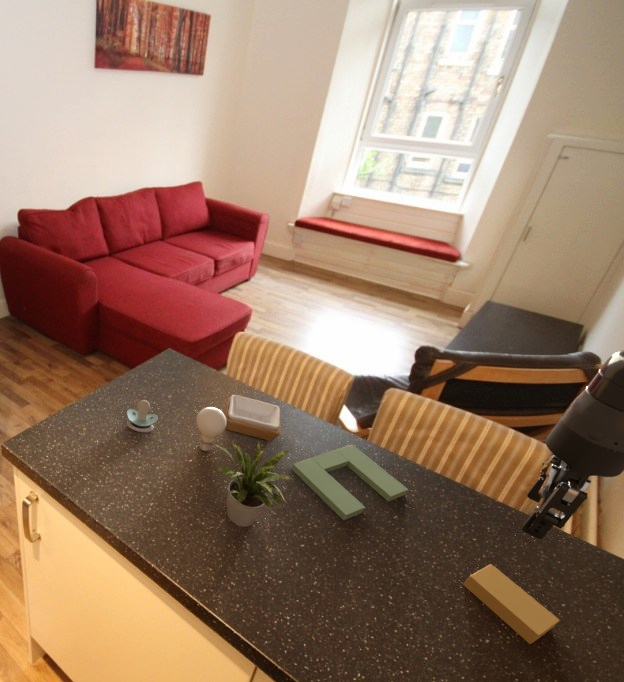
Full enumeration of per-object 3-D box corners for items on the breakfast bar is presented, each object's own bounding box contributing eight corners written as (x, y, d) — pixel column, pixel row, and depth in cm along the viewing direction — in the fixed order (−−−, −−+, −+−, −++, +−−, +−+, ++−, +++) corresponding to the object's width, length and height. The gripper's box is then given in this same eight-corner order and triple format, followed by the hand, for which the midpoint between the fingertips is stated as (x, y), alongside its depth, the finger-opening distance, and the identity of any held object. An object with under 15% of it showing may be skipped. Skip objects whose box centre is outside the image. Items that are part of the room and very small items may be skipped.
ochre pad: (483, 572, 77) (491, 563, 76) (551, 629, 70) (560, 620, 68) (462, 584, 75) (469, 575, 74) (530, 644, 67) (539, 635, 66)
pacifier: (153, 437, 101) (158, 420, 106) (156, 416, 98) (161, 400, 103) (122, 429, 103) (128, 413, 108) (124, 408, 100) (130, 393, 105)
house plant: (191, 535, 80) (208, 469, 71) (199, 479, 91) (214, 417, 83) (273, 558, 77) (300, 493, 69) (271, 497, 88) (294, 435, 80)
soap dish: (221, 431, 105) (225, 415, 102) (225, 407, 113) (229, 391, 110) (276, 446, 102) (281, 429, 99) (276, 420, 110) (281, 404, 107)
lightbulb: (184, 448, 99) (192, 409, 93) (200, 435, 103) (209, 397, 98) (209, 463, 95) (219, 424, 90) (224, 449, 99) (234, 410, 94)
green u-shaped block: (343, 520, 85) (346, 515, 84) (290, 468, 96) (292, 463, 95) (405, 494, 92) (408, 489, 91) (350, 449, 103) (352, 444, 102)
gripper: (649, 475, 49) (565, 565, 57) (639, 419, 59) (568, 504, 67) (561, 440, 54) (495, 528, 62) (564, 394, 63) (506, 476, 71)
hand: (533, 516), depth 64 cm, fingers open, 8 cm apart
